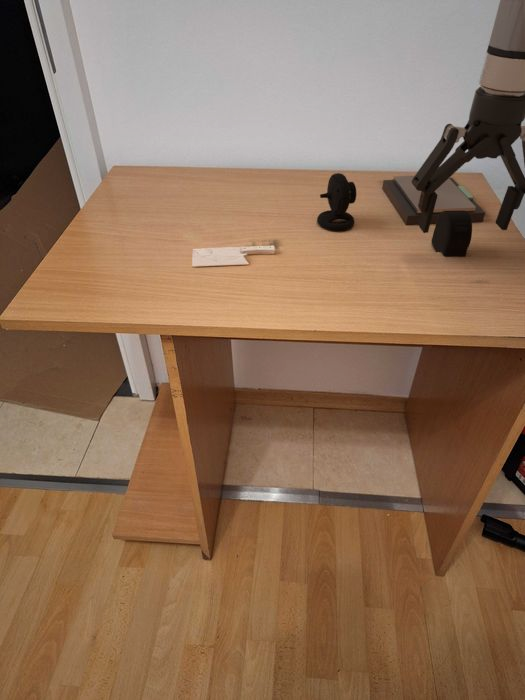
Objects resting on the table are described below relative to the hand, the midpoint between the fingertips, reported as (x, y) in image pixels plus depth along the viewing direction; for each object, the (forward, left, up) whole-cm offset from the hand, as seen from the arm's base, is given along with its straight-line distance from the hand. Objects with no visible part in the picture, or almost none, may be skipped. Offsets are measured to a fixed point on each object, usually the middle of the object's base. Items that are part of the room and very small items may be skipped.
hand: (462, 227), depth 82 cm
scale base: (-4, -24, -7) cm, 25 cm away
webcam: (+18, -17, -7) cm, 26 cm away
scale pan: (-4, -24, -5) cm, 25 cm away
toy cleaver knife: (+39, -5, -7) cm, 40 cm away
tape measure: (0, 0, -7) cm, 7 cm away
